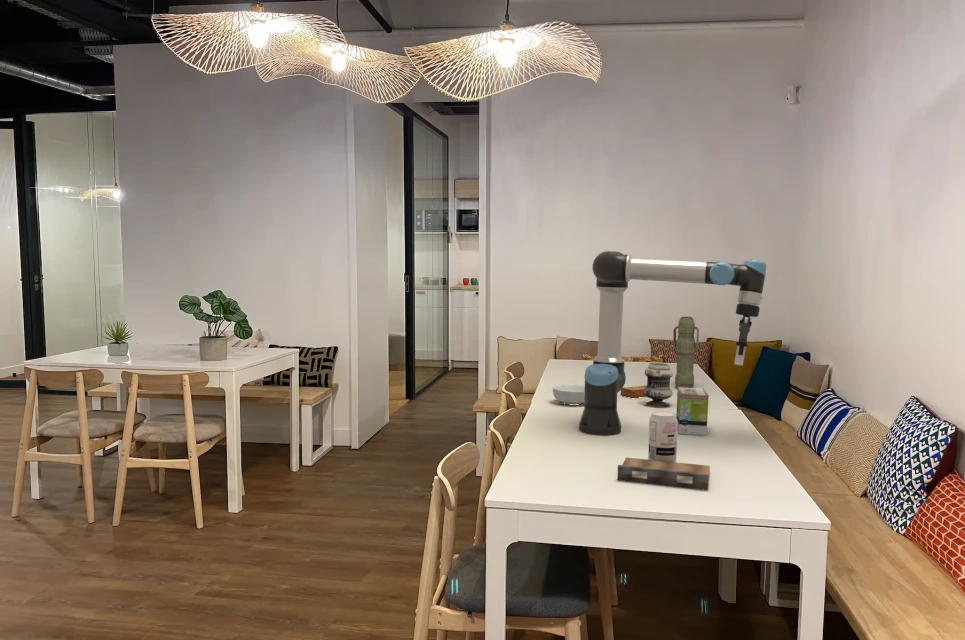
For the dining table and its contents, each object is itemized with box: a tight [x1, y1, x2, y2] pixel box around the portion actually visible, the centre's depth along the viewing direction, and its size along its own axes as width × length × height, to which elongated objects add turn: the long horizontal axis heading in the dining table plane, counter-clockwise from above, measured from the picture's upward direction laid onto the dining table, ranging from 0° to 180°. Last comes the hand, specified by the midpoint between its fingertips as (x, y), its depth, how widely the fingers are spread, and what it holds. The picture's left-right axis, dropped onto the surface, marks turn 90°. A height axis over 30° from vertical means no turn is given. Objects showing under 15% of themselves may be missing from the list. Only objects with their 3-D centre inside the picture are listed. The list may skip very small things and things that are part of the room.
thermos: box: [673, 316, 700, 390], centre depth 343 cm, size 9×12×35 cm
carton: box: [620, 384, 648, 399], centre depth 324 cm, size 8×16×4 cm, turn 120°
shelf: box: [617, 457, 711, 491], centre depth 201 cm, size 24×17×4 cm
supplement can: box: [647, 410, 678, 462], centre depth 215 cm, size 8×8×15 cm
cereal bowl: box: [552, 383, 585, 405], centre depth 304 cm, size 17×17×7 cm
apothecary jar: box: [644, 362, 674, 409], centre depth 302 cm, size 12×12×18 cm
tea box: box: [675, 387, 710, 436], centre depth 257 cm, size 15×10×15 cm
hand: (738, 364), depth 247 cm, fingers open, 13 cm apart
